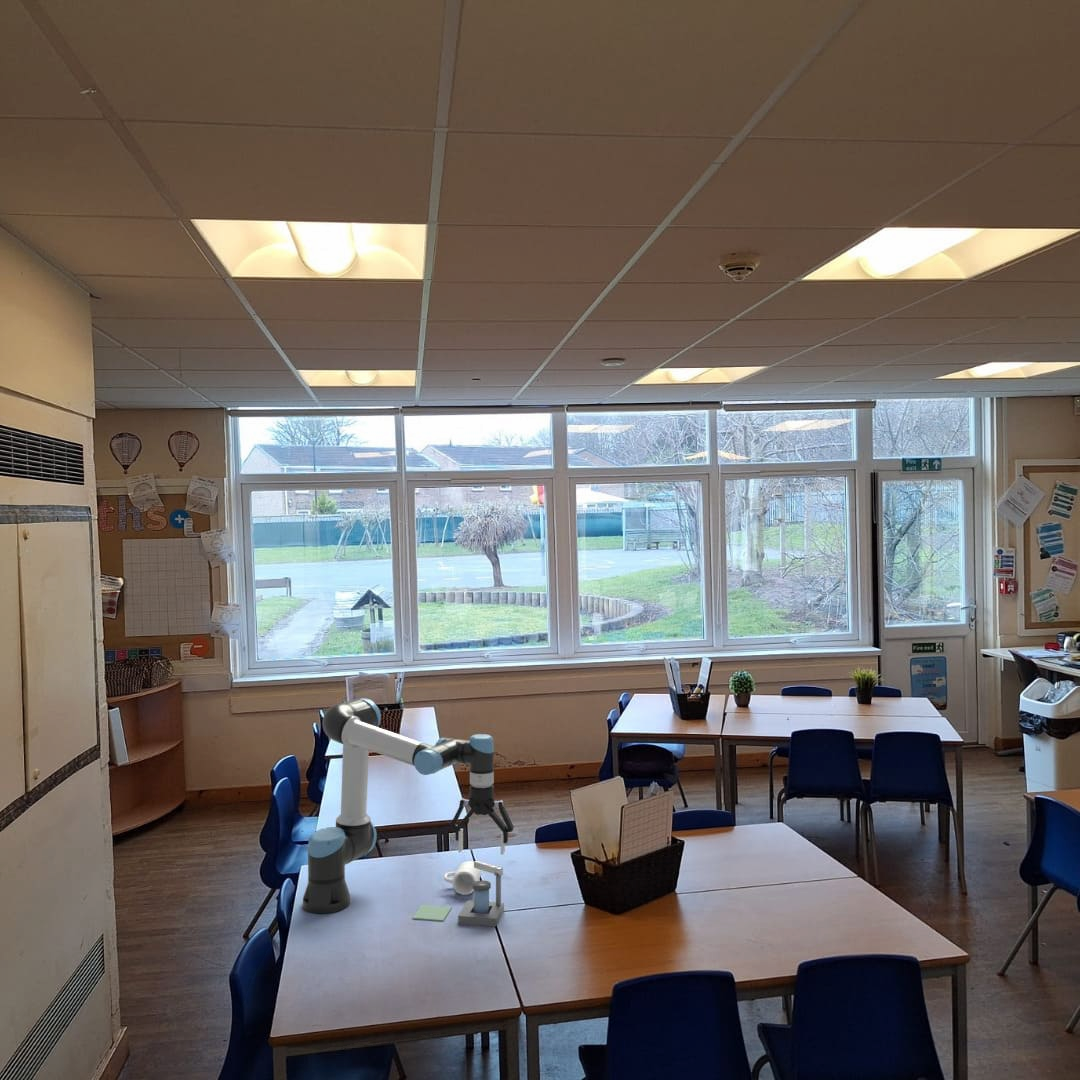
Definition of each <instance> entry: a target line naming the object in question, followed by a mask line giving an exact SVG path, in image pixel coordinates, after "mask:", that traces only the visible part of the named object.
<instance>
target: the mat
mask: <svg viewBox="0 0 1080 1080" xmlns="http://www.w3.org/2000/svg"><path fill="white" fill-rule="evenodd" d="M452 908H453V907H452V906H441V905H429V904H428V905H427V904H421V905H420V906H419V908H418V910H417V911H416V912H415V914H414V915H413V916H412V919H413V920H421V921H422V920H423V921H434V922H435V921H437V922H444V921H445V920H446V918H447V916H448V915H449V913H450V912H451V911H452Z"/></svg>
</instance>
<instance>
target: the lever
mask: <svg viewBox="0 0 1080 1080" xmlns="http://www.w3.org/2000/svg"><path fill="white" fill-rule="evenodd" d="M473 862H474V868H476V869H480V870H481V871H483V872H487V873H489V874H493V875H494V876H495V877H496V876H501V877H502V876H503V875H504V867H503V866H496V865H493V864H490V863H486V862H482V861H480V860H475V861H473Z"/></svg>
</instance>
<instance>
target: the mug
mask: <svg viewBox="0 0 1080 1080" xmlns="http://www.w3.org/2000/svg"><path fill="white" fill-rule="evenodd" d="M481 874H482V870H480V869H476V868H474V861H471V860H470V861H469V860H468V861H464V862H462V863H461V864H460V865H459V867H458V868H457V871H449V872H445V874H444V875H443V880H444V881H445V882H446V883H449V884H452V887H453V889H454V890H455V892H456V893H458V894H460V895H462V896H468V895H471V894H472V893H474V889H473V888H472V884H473V883H474V882H476V881H480V878H481ZM450 877H451V878H450ZM452 877H453V878H452Z"/></svg>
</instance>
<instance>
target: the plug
mask: <svg viewBox="0 0 1080 1080" xmlns="http://www.w3.org/2000/svg"><path fill="white" fill-rule="evenodd" d="M491 886H492V885H491V882H490V881H488V880H479V881H476V882H474V883H473V884H472V888H473V889H474V891H473V901H474V913H484V914H489V902H490V889H491V888H492V887H491Z"/></svg>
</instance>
